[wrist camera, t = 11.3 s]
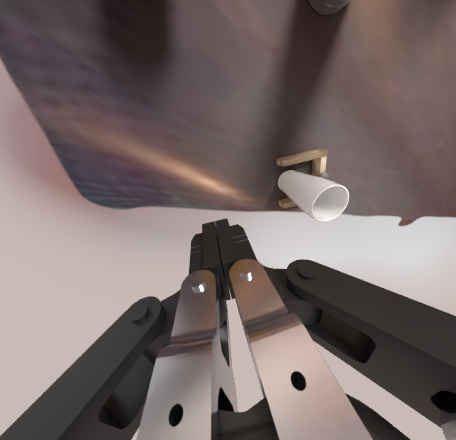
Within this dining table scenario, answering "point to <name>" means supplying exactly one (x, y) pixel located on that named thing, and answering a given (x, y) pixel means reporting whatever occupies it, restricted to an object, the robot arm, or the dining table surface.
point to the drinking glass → (314, 194)
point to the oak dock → (315, 155)
